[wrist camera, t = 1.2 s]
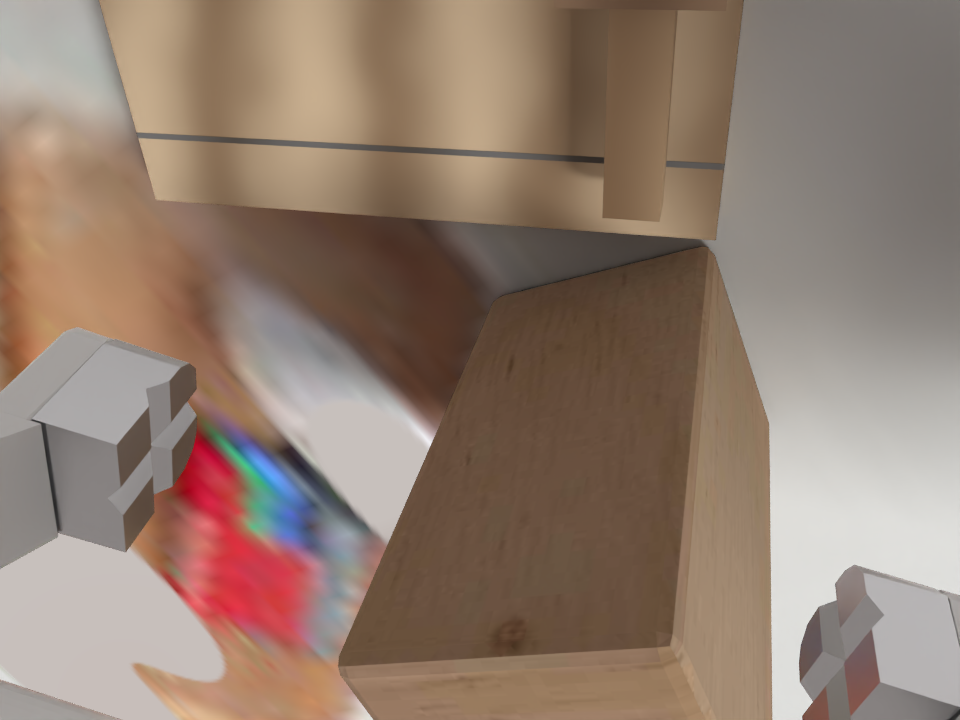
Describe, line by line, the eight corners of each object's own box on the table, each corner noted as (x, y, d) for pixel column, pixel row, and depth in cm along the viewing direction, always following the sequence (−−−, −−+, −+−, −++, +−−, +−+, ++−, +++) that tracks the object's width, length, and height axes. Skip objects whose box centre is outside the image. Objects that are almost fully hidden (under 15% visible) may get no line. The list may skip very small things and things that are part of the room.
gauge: (750, -214, 28) (747, -193, 23) (709, 167, 35) (701, 242, 30) (587, -208, 29) (553, -187, 24) (581, 160, 36) (554, 231, 31)
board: (745, -23, 31) (744, -7, 29) (717, 216, 36) (715, 240, 34) (123, -28, 36) (94, -15, 34) (178, 180, 41) (155, 200, 40)
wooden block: (491, 293, 41) (325, 668, 25) (711, 238, 37) (675, 647, 21) (568, 457, 45) (468, 858, 30) (771, 425, 41) (777, 872, 26)
